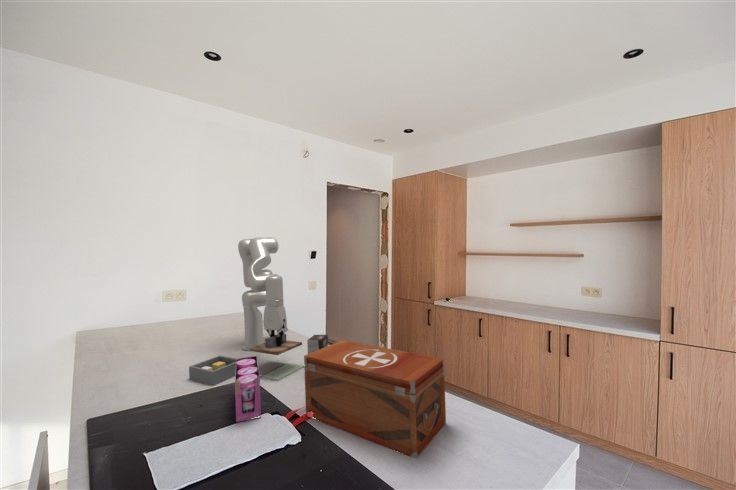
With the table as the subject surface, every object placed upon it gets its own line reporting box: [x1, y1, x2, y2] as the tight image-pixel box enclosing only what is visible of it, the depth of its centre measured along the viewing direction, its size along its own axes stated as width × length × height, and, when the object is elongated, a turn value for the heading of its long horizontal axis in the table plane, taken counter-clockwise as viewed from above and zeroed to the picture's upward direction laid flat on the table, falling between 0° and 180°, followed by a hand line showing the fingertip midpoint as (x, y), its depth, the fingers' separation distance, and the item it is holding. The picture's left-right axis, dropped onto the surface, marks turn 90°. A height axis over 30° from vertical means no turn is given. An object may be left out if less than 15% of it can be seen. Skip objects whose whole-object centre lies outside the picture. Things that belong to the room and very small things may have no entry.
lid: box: [249, 333, 303, 356], centre depth 150 cm, size 16×16×6 cm
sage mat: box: [260, 360, 305, 382], centre depth 150 cm, size 17×17×1 cm
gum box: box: [234, 355, 262, 423], centre depth 118 cm, size 24×8×14 cm, turn 20°
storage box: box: [188, 355, 237, 387], centre depth 144 cm, size 15×15×6 cm
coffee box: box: [306, 334, 329, 354], centre depth 145 cm, size 9×6×16 cm
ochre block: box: [212, 361, 226, 371], centre depth 148 cm, size 4×4×4 cm
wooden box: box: [303, 339, 447, 460], centre depth 107 cm, size 20×41×20 cm, turn 55°
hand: (276, 344), depth 150 cm, fingers closed on lid, 3 cm apart
